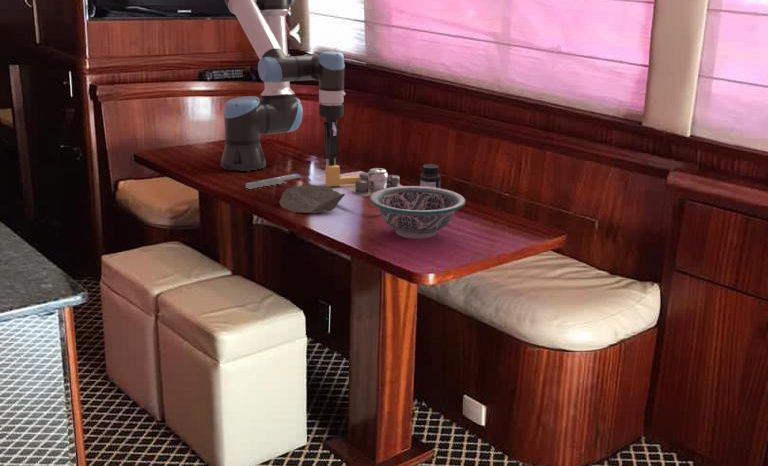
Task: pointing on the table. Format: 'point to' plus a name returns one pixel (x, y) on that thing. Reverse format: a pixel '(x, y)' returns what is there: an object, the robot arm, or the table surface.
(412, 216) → the bowl
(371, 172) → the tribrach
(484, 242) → the table surface
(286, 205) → the stone
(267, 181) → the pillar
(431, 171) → the pill bottle
